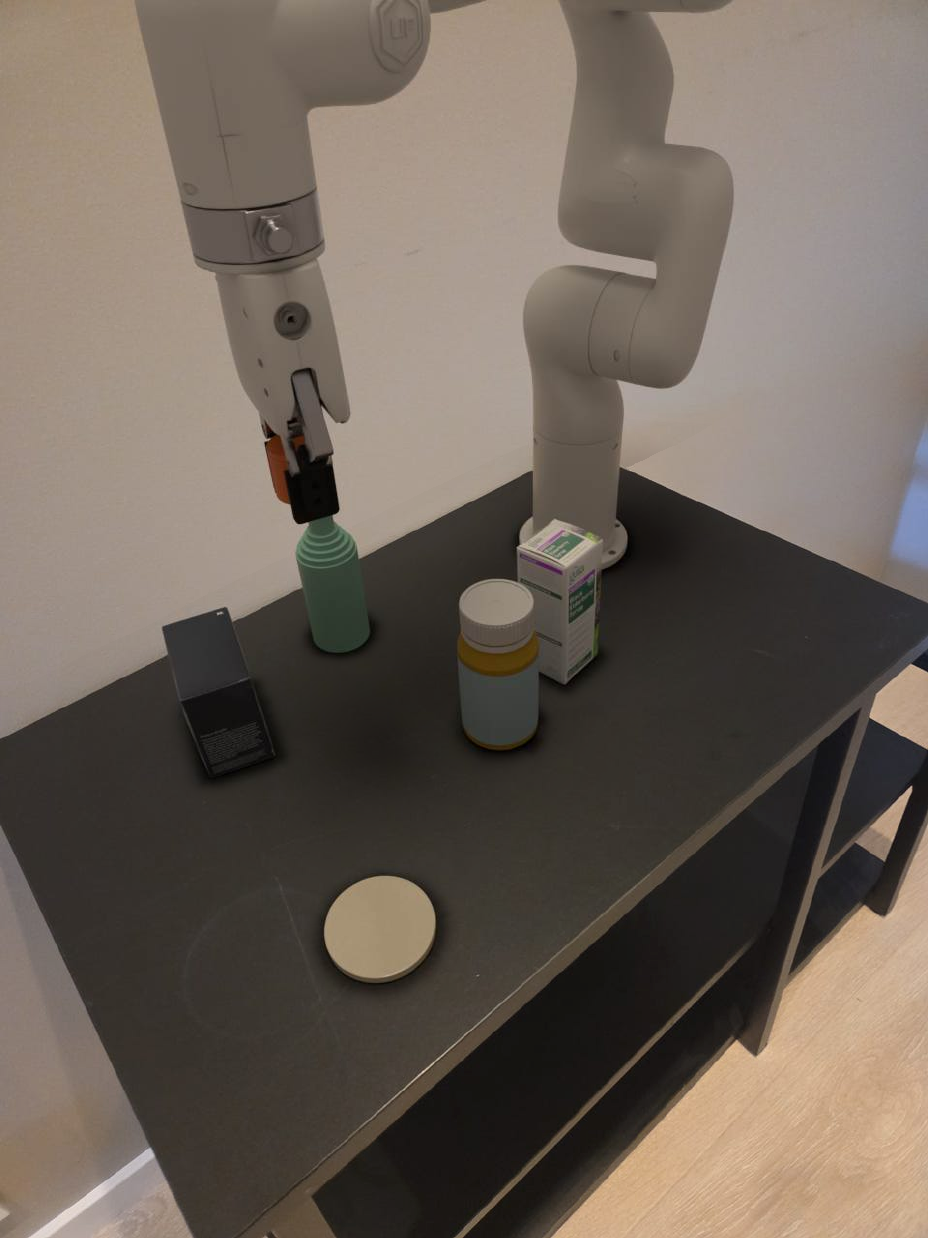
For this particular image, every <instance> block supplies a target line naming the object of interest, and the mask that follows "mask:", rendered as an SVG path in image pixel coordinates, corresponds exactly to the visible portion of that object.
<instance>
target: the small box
mask: <svg viewBox="0 0 928 1238" xmlns="http://www.w3.org/2000/svg"><path fill="white" fill-rule="evenodd" d="M161 631H162V635H163V639H164V643H165V648H166V652H167V656H168V660H169V665H170V669H171V673H172V677H173V682H174V685H175V690H176V693H177V696H178V701H179V704H180V706H181V709H182V711H183V715H184V718H185V720H186V723H187V725H188V728H189V730H190V734H191V735H192V738H193V741H194V743H195V746H196V748H197V751H198V753H199V755H200V758H201V760H202V763H203V765H204V767H205V770H206V771H207V774H208V776H209V778H210V779H213V778H217V777H221V776H223V775H226V774H228V773H232V772H234V771H238V770H241V769H243V768H247V767H249V766H253V765H255V764H259V763H261V762H264V761H267V760H270V759H272V758H275V757H276V751H275V749H274V746H273V745H274V744H273V742H272V739H271V735H270V733H269V729H268V726H267V724H266V720H265V718H264V714H263V710H262V708H261V704H260V701H259V697H258V695H257V691H256V689H255V684H254V681H253V677H252V675H251V672H250V668H249V665H248V662H247V660H246V657H245V654H244V652H243V648H242V645H241V643H240V640H239V637H238V634H237V630H236V628H235V625H234V622H233V618H232V616H231V614H230V611H229V608H228V607H227V606H222V607H219V608H217V609H214V610H210V611H207V612H204V613H200V614H197V615H194V616H190V617H187V618H185V619H180V620H178V621H174V622H172V623H169V624H164V625H162V626H161Z"/></svg>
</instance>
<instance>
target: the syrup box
mask: <svg viewBox="0 0 928 1238" xmlns="http://www.w3.org/2000/svg"><path fill="white" fill-rule="evenodd" d="M602 549H603V540H602V538H600V537H598V536H597V535H594V534H592V533H590V532H588V531H586V530H584V529H582V528H579V527H577V526H574V525H571V524H568V523H565V522H562V521H559V520H556V519H554V520H553V521H551V522H550V524H549V525H547V526H546V527H544V528H543V529H541V530H540V531H538V532H537V533H535V534H534V535H532V536H531V537H530V538H529V539H527V540H526V541H525V542H523V543H522V544H521V545H520V544H519V545H518V546H516V565H517V566H516V569H517V572H516V573H517V583H519V584H521V585H523V586H524V587H526V588H527V589H528V590H529V591H530V593H531V594H532V597H533V600H534V623H533V629H534V631H535V633H536V635H537V638H538V642H539V673H541V674H543V675H544V676H547V677H549V678H550V679H551V680H554V681H555V682H557V683H559V684H562V685H566V684H568V683H569V681H570V680H571V679H573V677H575V675H577V674H578V673H579V672H580V671H582V670H583V668H585V667H586V666H587V665H588V664H589V663H590V662H591V661H593V659H594V658H595V657H596V656H597V655H598V654H599V634H600V633H599V631H600V610H601V591H602V570H603V569H602Z"/></svg>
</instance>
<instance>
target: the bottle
mask: <svg viewBox="0 0 928 1238" xmlns="http://www.w3.org/2000/svg"><path fill="white" fill-rule="evenodd" d="M458 610H459V612H458V613H459V624H460V632H459V635H458V639H457V641H456V656H457V668H458V669H457V671H458V681H459V682H458V683H459V684H458V685H459V697H460V710H461V721H462V727H463V731H464V733H465V734H466V736H467V737H468V739H469V740H470V741H472V742H473V743H475V745H478V746H480V747H483V748H485V749H488V750H491V751H492V750H494V751H506V750H507V751H508V750H512V749H514V748H517V747H520V746H522V745H524V744H526V742H527V741H528V742H529V740H530V739H532V737H534V734H535V733H536V731H537V728H538V725H539V689H540V688H539V685H540V684H539V683H540V682H539V681H540V680H539V678H540V677H539V676H540V675H539V674H540V672H539V642H538V638H537V635H536V633H535V631H534V629H533V623H534V600H533V597H532V594H531V593H530V591H529V590H528V589H527V588H526V587H524V586H523V585H521V584H519V583H518V581H515V580H510V579H505V578H490V579H489V578H488V579H484V580H481V581H478V582H476V583H473V584H472V585H470V586H468V587H467V588H466V589H465V590H464V591H463V593H462V594H461V596H460V599H459V603H458Z"/></svg>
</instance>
